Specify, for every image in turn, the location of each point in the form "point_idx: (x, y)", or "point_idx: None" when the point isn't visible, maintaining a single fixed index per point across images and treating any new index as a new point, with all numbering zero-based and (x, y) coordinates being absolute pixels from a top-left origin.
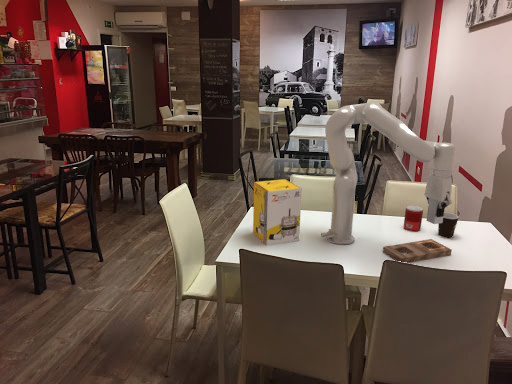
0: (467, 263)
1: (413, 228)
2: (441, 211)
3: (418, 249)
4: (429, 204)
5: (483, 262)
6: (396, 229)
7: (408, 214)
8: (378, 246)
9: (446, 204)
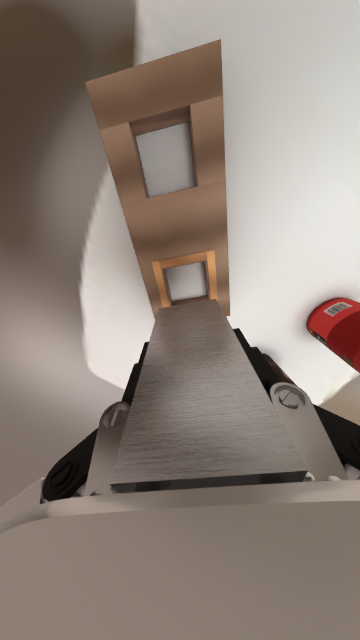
0: (115, 327)
1: (319, 314)
2: (128, 388)
3: (167, 229)
4: (242, 378)
5: (121, 357)
6: (354, 271)
7: None
8: (274, 81)
9: (37, 491)
